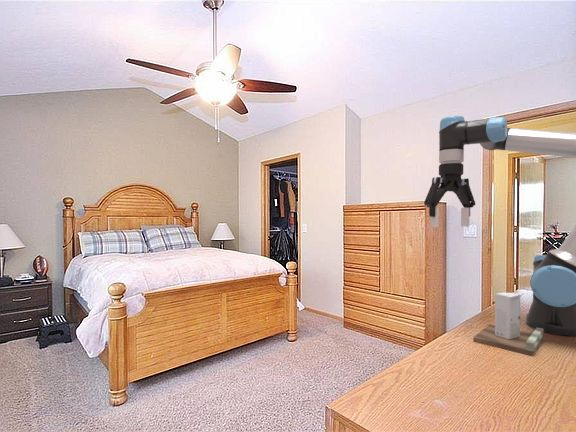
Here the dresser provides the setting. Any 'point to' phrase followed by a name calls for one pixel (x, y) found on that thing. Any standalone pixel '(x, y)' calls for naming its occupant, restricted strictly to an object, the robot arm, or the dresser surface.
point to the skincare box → (507, 315)
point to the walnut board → (511, 340)
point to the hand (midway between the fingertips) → (449, 226)
